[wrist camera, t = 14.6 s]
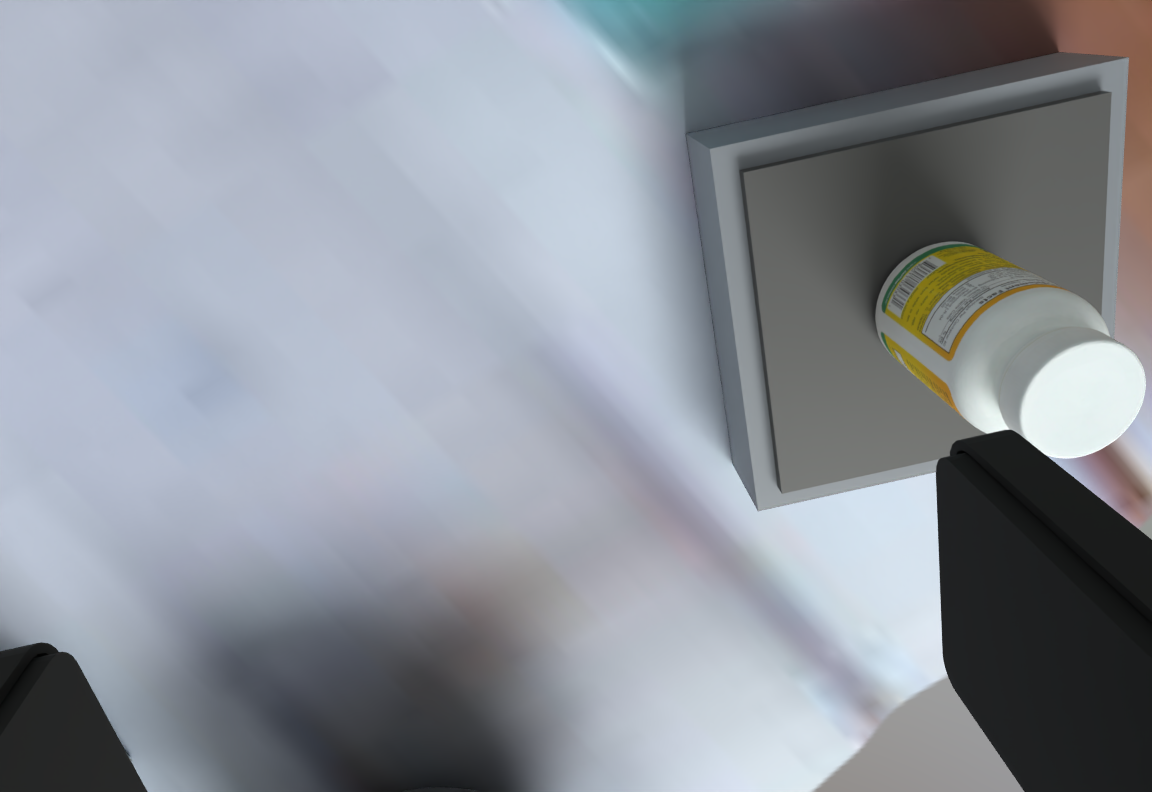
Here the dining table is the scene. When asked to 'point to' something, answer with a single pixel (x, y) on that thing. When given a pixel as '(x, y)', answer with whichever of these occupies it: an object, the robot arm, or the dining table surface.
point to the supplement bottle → (1009, 349)
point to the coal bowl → (440, 790)
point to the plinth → (890, 251)
